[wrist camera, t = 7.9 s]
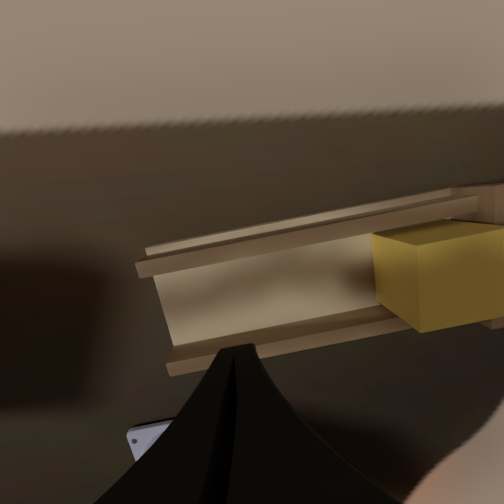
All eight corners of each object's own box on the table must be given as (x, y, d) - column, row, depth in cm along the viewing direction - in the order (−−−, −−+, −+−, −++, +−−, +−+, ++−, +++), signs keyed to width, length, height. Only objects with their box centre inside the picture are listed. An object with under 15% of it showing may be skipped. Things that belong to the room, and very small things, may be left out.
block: (443, 287, 18) (508, 315, 14) (376, 300, 18) (420, 333, 14) (442, 219, 17) (512, 226, 13) (370, 233, 17) (416, 245, 13)
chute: (453, 300, 20) (506, 326, 16) (182, 355, 19) (167, 394, 16) (452, 185, 18) (512, 182, 14) (150, 245, 18) (124, 259, 14)
